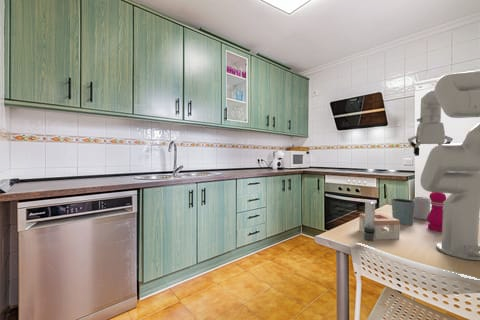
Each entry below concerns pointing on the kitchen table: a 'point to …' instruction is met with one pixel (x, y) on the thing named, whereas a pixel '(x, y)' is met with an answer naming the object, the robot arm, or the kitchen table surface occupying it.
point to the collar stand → (382, 226)
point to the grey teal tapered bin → (403, 210)
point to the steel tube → (369, 221)
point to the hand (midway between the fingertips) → (428, 155)
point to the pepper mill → (436, 211)
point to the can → (421, 208)
